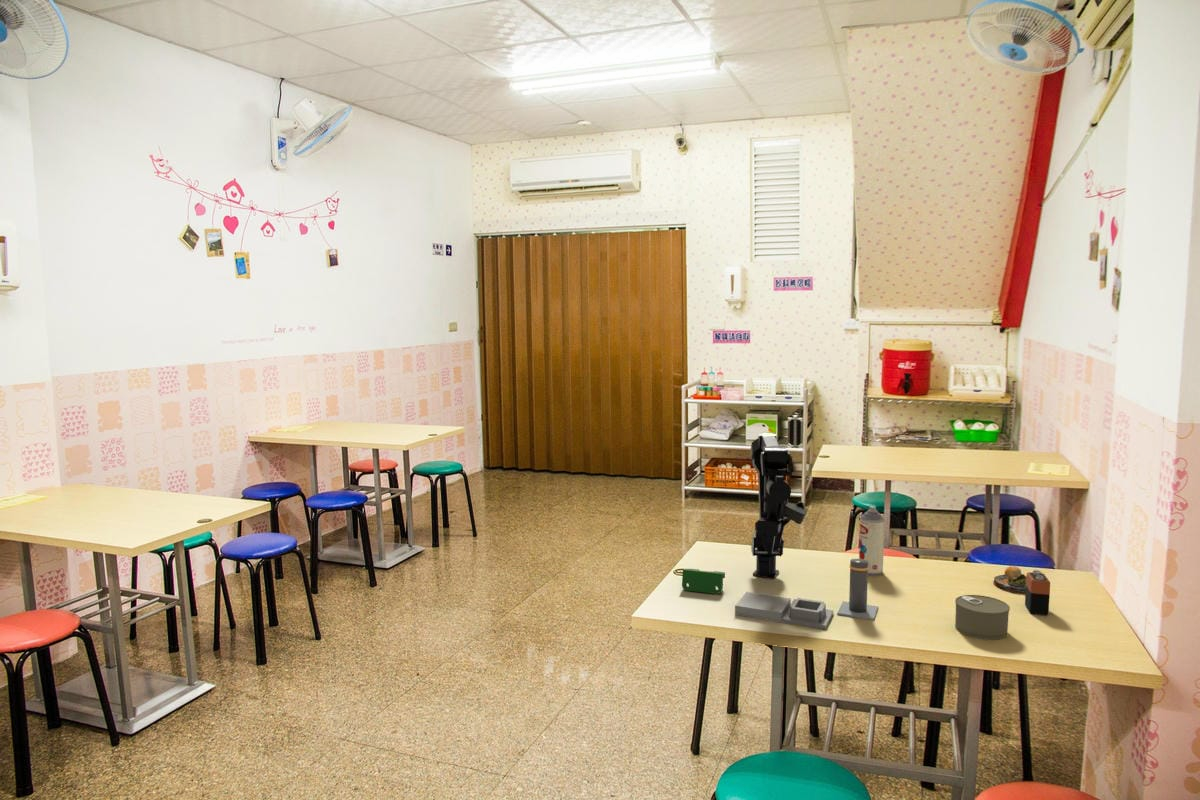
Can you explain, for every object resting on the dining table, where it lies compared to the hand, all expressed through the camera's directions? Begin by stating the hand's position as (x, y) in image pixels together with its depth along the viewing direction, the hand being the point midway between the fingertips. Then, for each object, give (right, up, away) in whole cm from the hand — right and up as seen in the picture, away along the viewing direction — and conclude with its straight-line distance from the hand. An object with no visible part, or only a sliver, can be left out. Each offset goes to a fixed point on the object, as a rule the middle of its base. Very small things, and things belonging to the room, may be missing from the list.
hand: (773, 549), depth 218 cm
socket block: (0, -15, -13) cm, 19 cm away
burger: (+70, -12, +6) cm, 72 cm away
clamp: (-19, -13, +6) cm, 23 cm away
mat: (+19, -14, -11) cm, 27 cm away
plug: (+19, -14, -11) cm, 26 cm away
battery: (+66, -14, -11) cm, 68 cm away
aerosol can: (+33, -11, +20) cm, 40 cm away
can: (+46, -16, -24) cm, 54 cm away
